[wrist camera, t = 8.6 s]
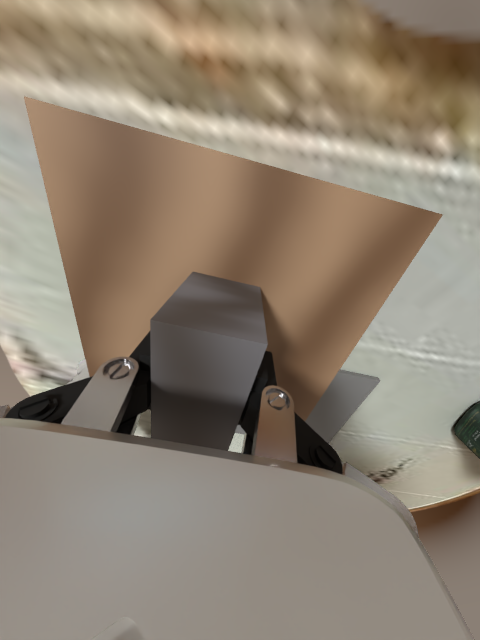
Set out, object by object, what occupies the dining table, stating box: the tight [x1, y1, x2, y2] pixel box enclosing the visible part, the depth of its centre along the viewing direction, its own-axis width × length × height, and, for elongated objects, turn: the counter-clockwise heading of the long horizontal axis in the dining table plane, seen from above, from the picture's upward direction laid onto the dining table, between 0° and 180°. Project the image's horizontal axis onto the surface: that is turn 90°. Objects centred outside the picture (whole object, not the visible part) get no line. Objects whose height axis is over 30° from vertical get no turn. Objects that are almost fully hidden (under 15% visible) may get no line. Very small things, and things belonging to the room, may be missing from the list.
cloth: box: [24, 97, 442, 451], centre depth 10 cm, size 17×17×6 cm
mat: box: [235, 370, 380, 443], centre depth 31 cm, size 18×18×1 cm
